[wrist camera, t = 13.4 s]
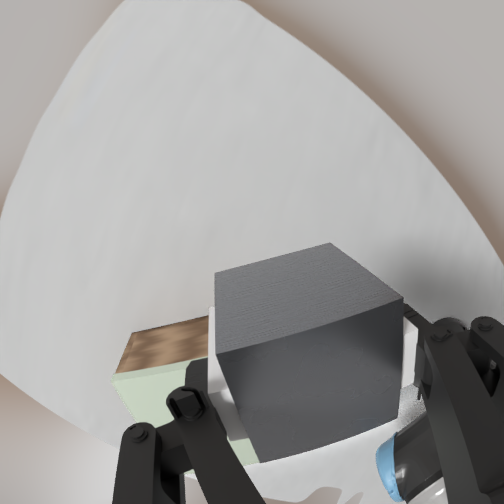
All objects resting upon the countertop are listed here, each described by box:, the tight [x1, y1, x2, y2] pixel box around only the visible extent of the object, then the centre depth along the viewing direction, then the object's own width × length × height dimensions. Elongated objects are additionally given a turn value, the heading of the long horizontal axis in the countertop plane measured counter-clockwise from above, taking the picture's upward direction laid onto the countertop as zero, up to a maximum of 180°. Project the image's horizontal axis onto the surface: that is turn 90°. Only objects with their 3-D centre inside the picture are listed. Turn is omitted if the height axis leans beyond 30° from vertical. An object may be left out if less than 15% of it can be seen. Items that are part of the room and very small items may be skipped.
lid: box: [111, 356, 259, 474], centre depth 34 cm, size 20×20×3 cm
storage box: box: [115, 315, 209, 374], centre depth 41 cm, size 20×20×10 cm
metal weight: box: [215, 243, 404, 463], centre depth 13 cm, size 6×6×7 cm
